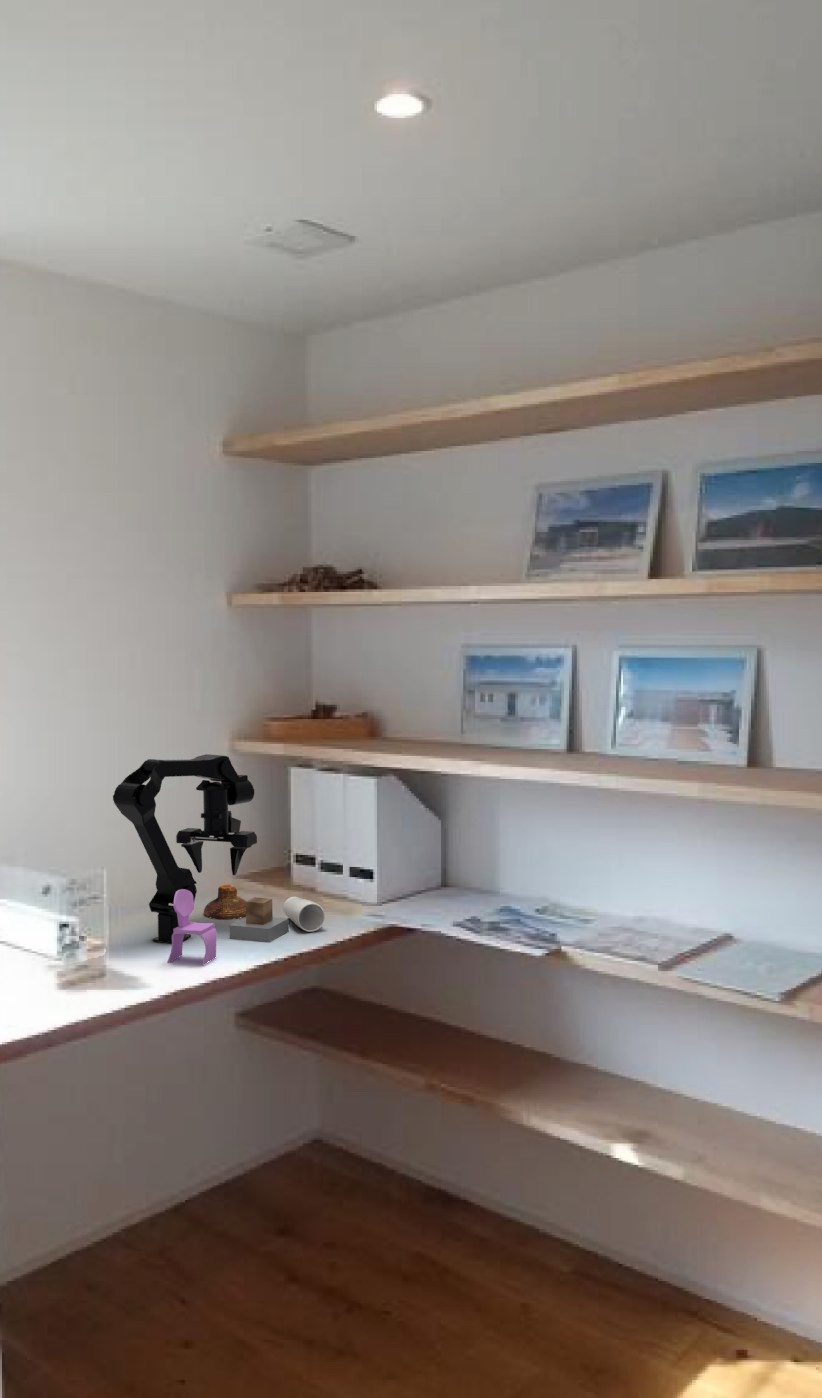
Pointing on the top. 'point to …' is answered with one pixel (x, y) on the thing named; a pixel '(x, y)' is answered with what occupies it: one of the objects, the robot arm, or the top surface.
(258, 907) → the walnut block
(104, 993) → the top surface
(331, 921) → the top surface
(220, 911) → the bell
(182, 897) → the toy chair
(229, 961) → the top surface
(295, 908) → the white hollow cylinder
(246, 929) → the base
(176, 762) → the robot arm
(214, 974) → the top surface
